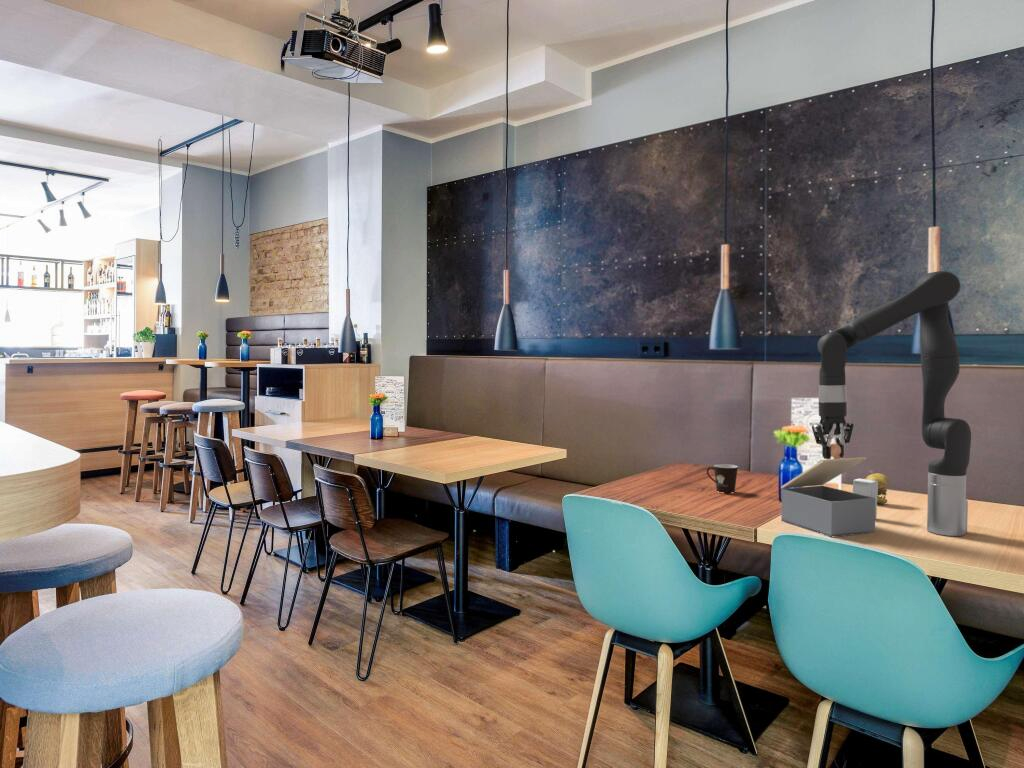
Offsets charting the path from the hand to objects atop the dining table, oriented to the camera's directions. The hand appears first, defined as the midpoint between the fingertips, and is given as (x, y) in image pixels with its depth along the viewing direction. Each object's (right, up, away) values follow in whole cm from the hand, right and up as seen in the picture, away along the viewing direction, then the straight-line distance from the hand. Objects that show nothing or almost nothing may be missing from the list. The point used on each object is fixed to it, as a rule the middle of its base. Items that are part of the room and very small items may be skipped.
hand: (833, 457), depth 195 cm
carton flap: (-1, -5, +4) cm, 7 cm away
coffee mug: (-15, -19, +55) cm, 60 cm away
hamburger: (+31, -20, +32) cm, 49 cm away
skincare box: (+16, -21, +13) cm, 29 cm away
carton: (-1, -21, +3) cm, 21 cm away
